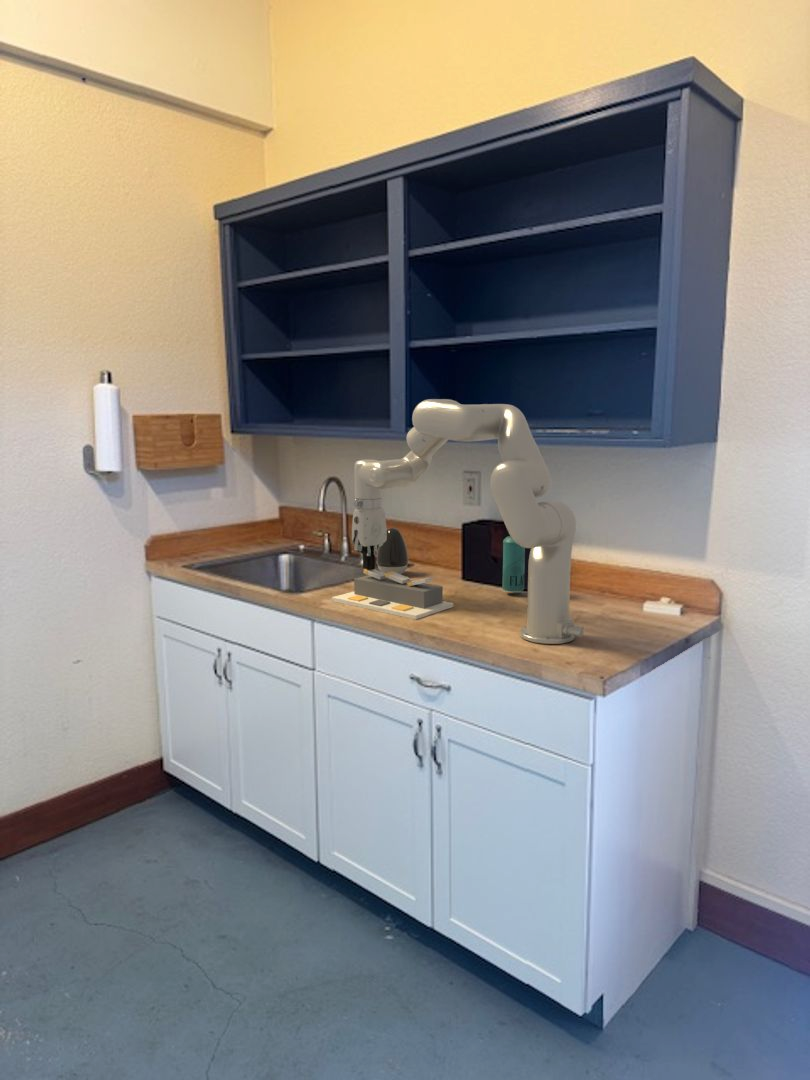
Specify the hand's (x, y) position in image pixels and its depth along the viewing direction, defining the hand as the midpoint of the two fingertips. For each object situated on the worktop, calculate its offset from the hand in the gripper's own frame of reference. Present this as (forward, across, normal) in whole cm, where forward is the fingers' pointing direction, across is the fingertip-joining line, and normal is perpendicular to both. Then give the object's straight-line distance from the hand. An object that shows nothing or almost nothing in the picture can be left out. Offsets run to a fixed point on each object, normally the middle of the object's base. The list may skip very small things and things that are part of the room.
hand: (368, 568), depth 214 cm
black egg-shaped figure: (+8, +26, +13) cm, 30 cm away
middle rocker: (+1, 0, -10) cm, 11 cm away
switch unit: (+8, -2, -11) cm, 13 cm away
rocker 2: (+1, 0, -18) cm, 19 cm away
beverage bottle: (+8, +28, -31) cm, 42 cm away
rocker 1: (+1, 0, -2) cm, 3 cm away
